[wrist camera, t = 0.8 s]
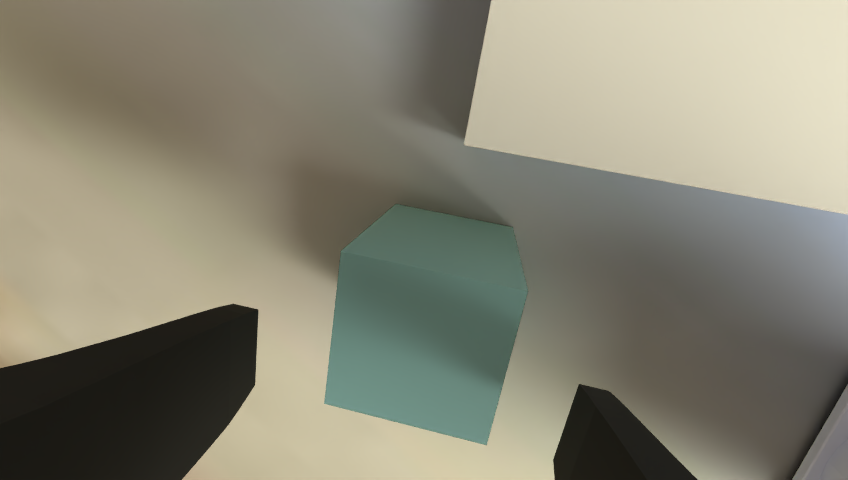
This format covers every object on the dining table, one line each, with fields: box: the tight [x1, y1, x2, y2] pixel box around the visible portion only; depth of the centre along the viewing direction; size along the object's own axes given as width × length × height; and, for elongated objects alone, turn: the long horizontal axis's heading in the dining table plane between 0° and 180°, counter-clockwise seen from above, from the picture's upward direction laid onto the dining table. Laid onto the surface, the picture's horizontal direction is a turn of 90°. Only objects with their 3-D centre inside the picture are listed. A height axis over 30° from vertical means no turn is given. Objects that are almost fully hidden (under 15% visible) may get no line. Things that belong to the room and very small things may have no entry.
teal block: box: [324, 204, 528, 445], centre depth 13 cm, size 4×4×6 cm
